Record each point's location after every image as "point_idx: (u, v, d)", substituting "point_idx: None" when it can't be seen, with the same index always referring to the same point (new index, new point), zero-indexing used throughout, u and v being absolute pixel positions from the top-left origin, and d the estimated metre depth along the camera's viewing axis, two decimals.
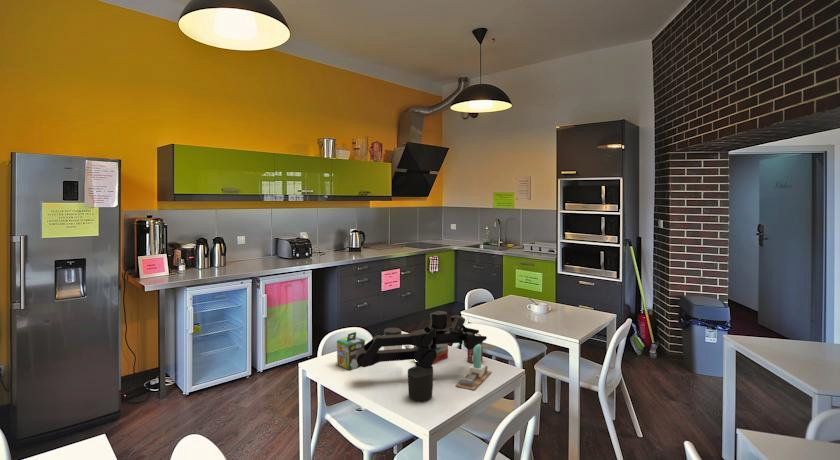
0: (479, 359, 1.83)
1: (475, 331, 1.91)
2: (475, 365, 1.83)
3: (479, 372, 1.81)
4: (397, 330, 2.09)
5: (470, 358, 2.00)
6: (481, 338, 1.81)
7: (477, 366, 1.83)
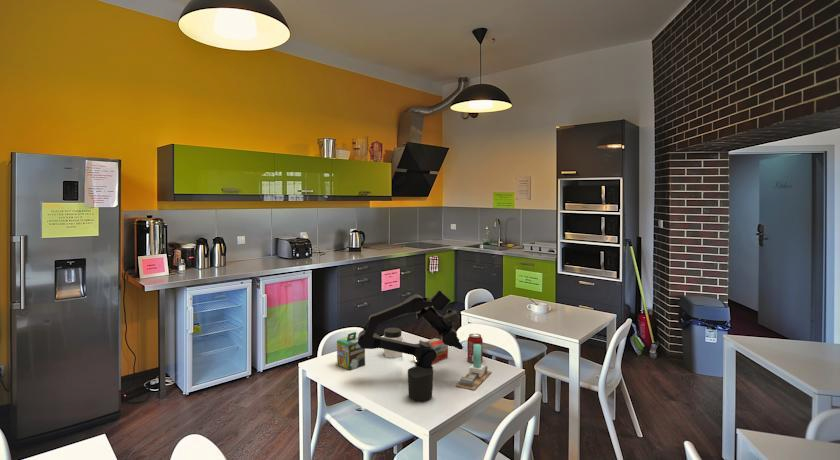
0: (479, 359, 1.83)
1: None
2: (475, 365, 1.83)
3: (479, 372, 1.81)
4: (397, 330, 2.09)
5: (470, 358, 2.00)
6: (458, 344, 1.78)
7: (477, 366, 1.83)
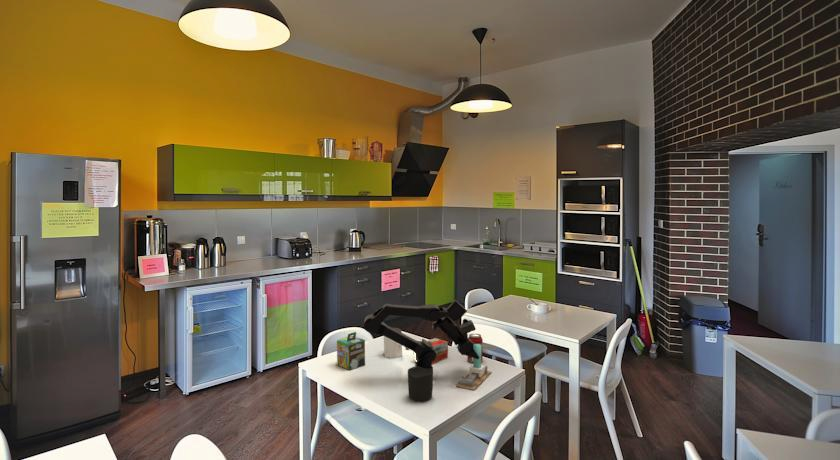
0: (479, 359, 1.83)
1: None
2: (475, 365, 1.83)
3: (479, 372, 1.81)
4: (397, 330, 2.09)
5: (470, 358, 2.00)
6: (474, 354, 1.78)
7: (477, 366, 1.83)
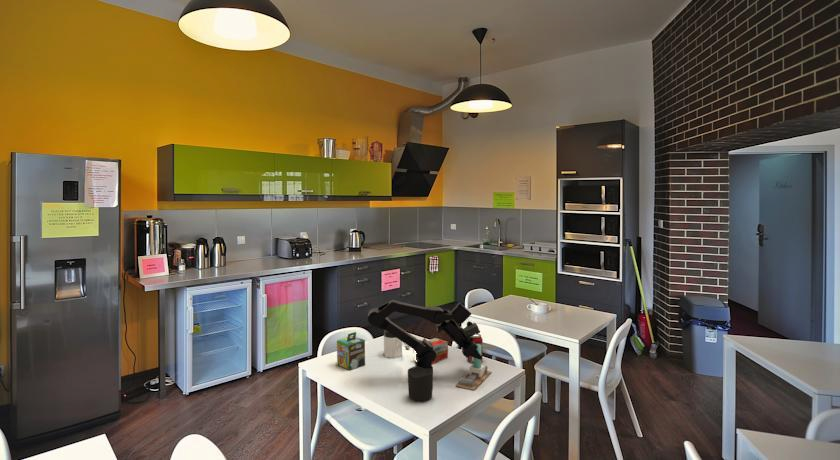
0: (479, 359, 1.83)
1: None
2: (475, 365, 1.83)
3: (479, 372, 1.81)
4: None
5: (470, 358, 2.00)
6: (477, 355, 1.81)
7: (477, 366, 1.83)
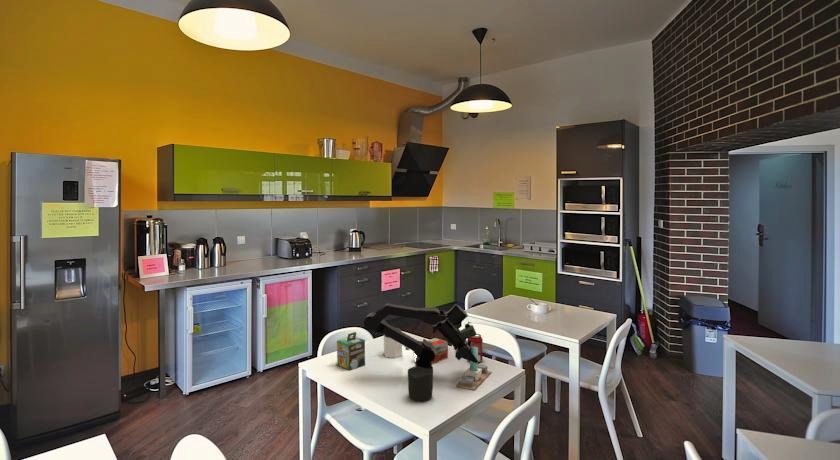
0: None
1: None
2: (472, 368, 1.79)
3: (476, 375, 1.78)
4: None
5: None
6: (473, 358, 1.78)
7: (474, 369, 1.79)
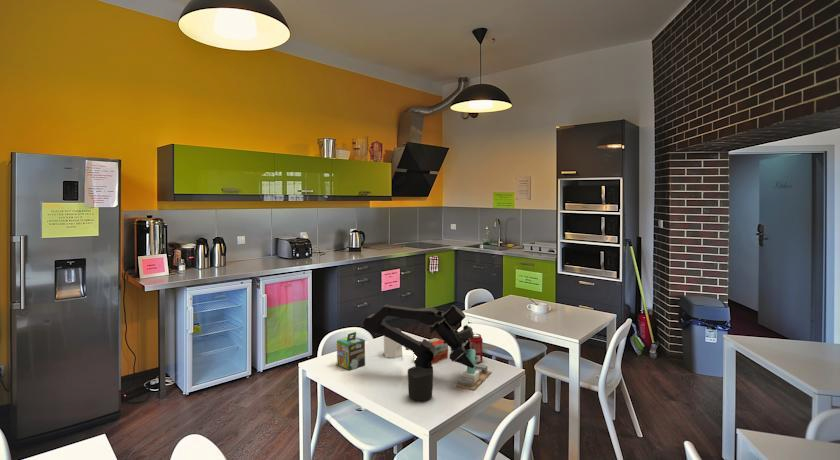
0: (473, 364, 1.77)
1: None
2: (469, 370, 1.77)
3: (473, 378, 1.75)
4: None
5: None
6: (468, 362, 1.73)
7: (471, 372, 1.77)
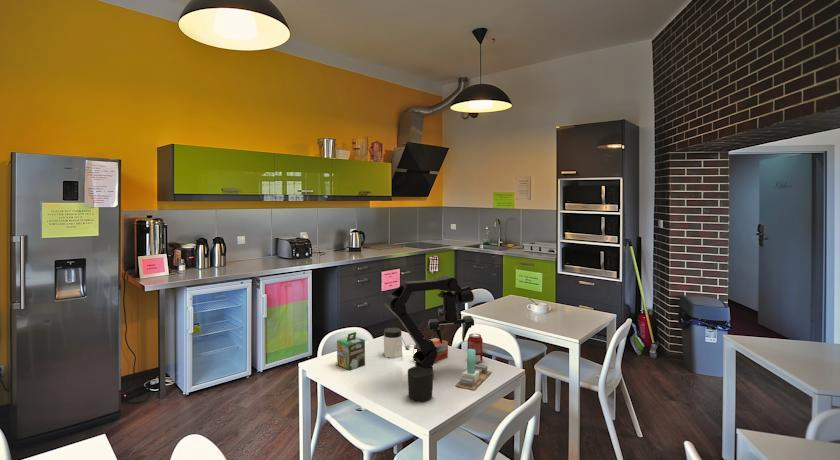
0: (473, 364, 1.77)
1: (441, 339, 1.87)
2: (469, 370, 1.77)
3: (473, 378, 1.75)
4: (397, 330, 2.09)
5: None
6: None
7: (471, 372, 1.77)
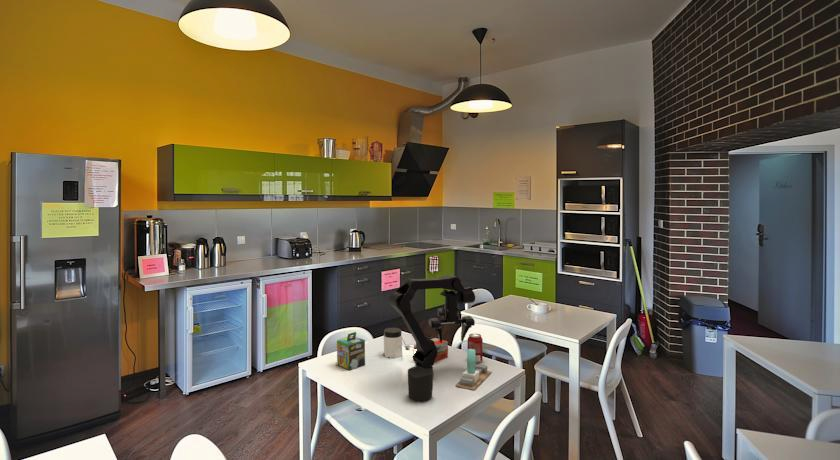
0: (473, 364, 1.77)
1: None
2: (469, 370, 1.77)
3: (473, 378, 1.75)
4: (397, 330, 2.09)
5: None
6: None
7: (471, 372, 1.77)
